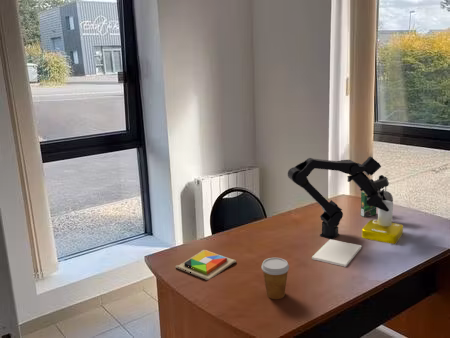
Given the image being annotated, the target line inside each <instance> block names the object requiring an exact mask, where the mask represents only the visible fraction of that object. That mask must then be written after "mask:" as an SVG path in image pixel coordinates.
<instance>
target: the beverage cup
mask: <svg viewBox="0 0 450 338" xmlns="http://www.w3.org/2000/svg"><path fill="white" fill-rule="evenodd" d="M384 195H385V197H386V199H387V201H391V202H393V203H394V198H393V197H394V196H393V195H392V193H391V192H390V191H387V187H384Z"/></svg>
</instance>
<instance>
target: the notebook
mask: <svg viewBox="0 0 450 338" xmlns="http://www.w3.org/2000/svg"><path fill="white" fill-rule="evenodd" d="M361 249H362V245H360V244H357V243H350V242H346V241H341V240H335V239H329V240H327V241H326V242H325V243H324V245H322V246H321V247H320V248H319V249H318V250H317V251H316V252H315V253H314V255H312V256H311V259H312V260H314V261H317V262H321V263H322V262H323V263H326V264H332V265H336V266H340V267H345V268H346V267H348V265H349V263H350V262H351V261H352V260H353V259H354V258H355V256H356V255H357V254H358V253H359V251H360V250H361Z"/></svg>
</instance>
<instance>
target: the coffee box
mask: <svg viewBox="0 0 450 338" xmlns="http://www.w3.org/2000/svg"><path fill="white" fill-rule="evenodd" d="M367 199H368V198H367V195H366V194H365V193H364V192H363V191H361V192H360V216H361V217H362V218H367V217H371V216H375V215H377V207H374V206H370V207H369V206H368V205H367Z"/></svg>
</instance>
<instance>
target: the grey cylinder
mask: <svg viewBox="0 0 450 338" xmlns="http://www.w3.org/2000/svg"><path fill="white" fill-rule="evenodd" d="M383 202H384V203H385V205H386V206H387V207H388V209H389V211H388V212H387V211H384V210H382V209H379V208H377V220H378V224H379V225H381V226H391V225H392V223H393V211H394V201H393V202H391V201H387V200H383Z"/></svg>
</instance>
